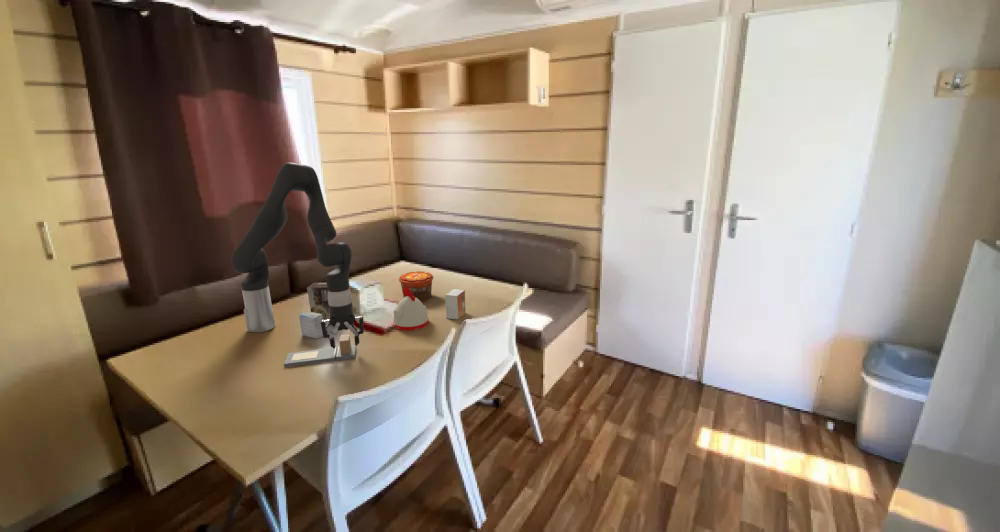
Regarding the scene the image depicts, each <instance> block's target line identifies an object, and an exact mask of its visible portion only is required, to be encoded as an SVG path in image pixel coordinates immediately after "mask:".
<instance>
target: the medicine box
mask: <svg viewBox="0 0 1000 532" xmlns="http://www.w3.org/2000/svg"><path fill="white" fill-rule="evenodd" d="M298 316H299V317H298V319H299V323H300V328H301V336H303V337H308V338H313V339H316V340H318V339H320V338H321V337H323V333H322V328H321V321H322V319H323V315H322V314H319V313H314V312H311V311H306V312H303V313H301V314H300V315H298Z"/></svg>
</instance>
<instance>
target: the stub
mask: <svg viewBox="0 0 1000 532" xmlns="http://www.w3.org/2000/svg"><path fill="white" fill-rule="evenodd" d="M339 335H340V334H339ZM338 343H339V346H337V354H336V360H335V361H342V360H350V359H355V358H356V352H357V346H355V344H351V335H350V334H341V335H340V336H339V341H338Z"/></svg>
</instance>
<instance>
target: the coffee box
mask: <svg viewBox="0 0 1000 532" xmlns="http://www.w3.org/2000/svg"><path fill="white" fill-rule="evenodd" d="M306 290H307V296H308V297H307V298H308V303H309V310H310V312H314V313H319V314H322V315H323V319H325V320H329V319H330V312H329V304H328V290H327V282H313V283H310V285H308V286H307V287H306ZM328 325H331V324H330V323H328Z"/></svg>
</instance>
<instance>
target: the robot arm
mask: <svg viewBox="0 0 1000 532" xmlns="http://www.w3.org/2000/svg"><path fill="white" fill-rule="evenodd" d="M321 188H322V187H321V185H320V180H319V178H318V175H317V172H316V171H315V169H314V168H313V167H312V166H310V165H307V164H301V163H295V162H285V163H284V164H283V165H282V166H281V167H280V169H279V170H278V173H277V175H276V177H275V180H274V182H273V185H272V187H271V189H270V191H269V194H268V195H267V196H266V197H267V198H266V199H265V202H264V203H263V205H262V206H261V208H260V210H259V212H258V214H257V215H256V217H255V219H254V221H253V223H252V224H251V226H250V228H249V229H248V231H247V233H246V235H245V237H244V238H243V239H242V240H241V242H240V244H238V246H237V247H236V249H235V250H234V251H233V252H232V255H231V258H230V265H231V267H232V269H233V271H235V272H236V273H238V274H247V276H245V278H244V279H243V280H242V281H241V283H240V287H241V293H242V296H243V297H242V298H243V303H244V308H243V313H244V318H245V319H244V320H245V324H246V330H247V332H248V333H263V332H264V333H265V332H268V331H270V330H272V329H274V328H275V327H276V323H275V318H274V317H275V316H274V311H273V305H272V298H271V293H270V292H271V291H270V287H269V280H270V272H269V271H270V270H269V261H268V257H267V256H268V255H267V253H266V251H265V250H264V248H265V247H266V246H267V245H268V244H270V242H272V241H273V240H274V239H275V238H276V237H277V236H279V234H280V233H281V231H282V230H283V228H284V227H285V225H286V223H287V221H288V217H289V216H288V211H287V210H288V209H287V206H286V200H287V198H288V196H289V194H290V193H291V192H292V191H294V192H295V191H297V192H304V193H305V195H306V196H307V198H308V200H309V207H308V210H307V216H306V217H307V219H306V220H307V223H308V226H309V229H310V231H311V233H312V236H313V238H314V242H315V249H316V257H317V261H318V262H319V264H320V265H321V266H322V267H325V268H328V267H329V268H330V267H334V266H337V267H336V268H335V269H334V270H331V271H329V272H328V273H327V274H326V275H325V283H327V290H328V304H329V312H330V319H329V320H325V319H322V321H321V328H322V333H323V336H322V337H323V338H324V339H329V344H330V348H333V349H334V348H335V347H336V339H335V335H336V333H337V332H339V331H347V330H349V331H350V333H352V334H353V336H354V345H355V346H356V347H358V345H359V344H360V335H363V334H364V333H365V327H364V325H365V324H364V323H365V322H364V321H365V320H364V316H363V315H361V314H360V316H355V314H354V306H353V297H352V293H351V288H350V279H349V277H350V276H349V274H350V267H351V262H352V257H353V256H352V254H353V253H352V249H351V247H350V245H349V244H347V242H336V243H331V244H329V242H331V241H333V240H334V239H335V238H336V237H337V231H336V229H335V226H334V224H333V221H332V220H331V218H330V215H329V213H328V211H327V210H328V209H327V207H326V203H325V200H324V196H323V192H322V189H321ZM327 243H328V244H327ZM355 321H356V322H357V323H358V324H359V329H358V328H357V327H356V325H355V324H354V323H355ZM328 323H330V324H328ZM329 325H331V326H332V329H331V332H328V326H329Z"/></svg>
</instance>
